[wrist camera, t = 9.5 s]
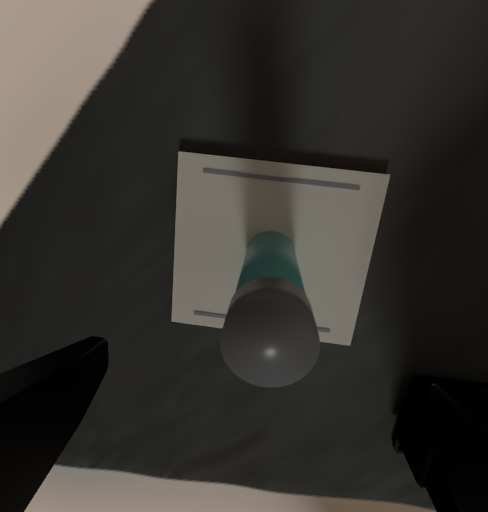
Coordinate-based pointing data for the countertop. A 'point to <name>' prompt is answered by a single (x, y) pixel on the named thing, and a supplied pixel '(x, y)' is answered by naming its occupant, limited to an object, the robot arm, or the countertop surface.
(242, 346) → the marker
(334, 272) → the notepad
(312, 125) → the countertop surface
